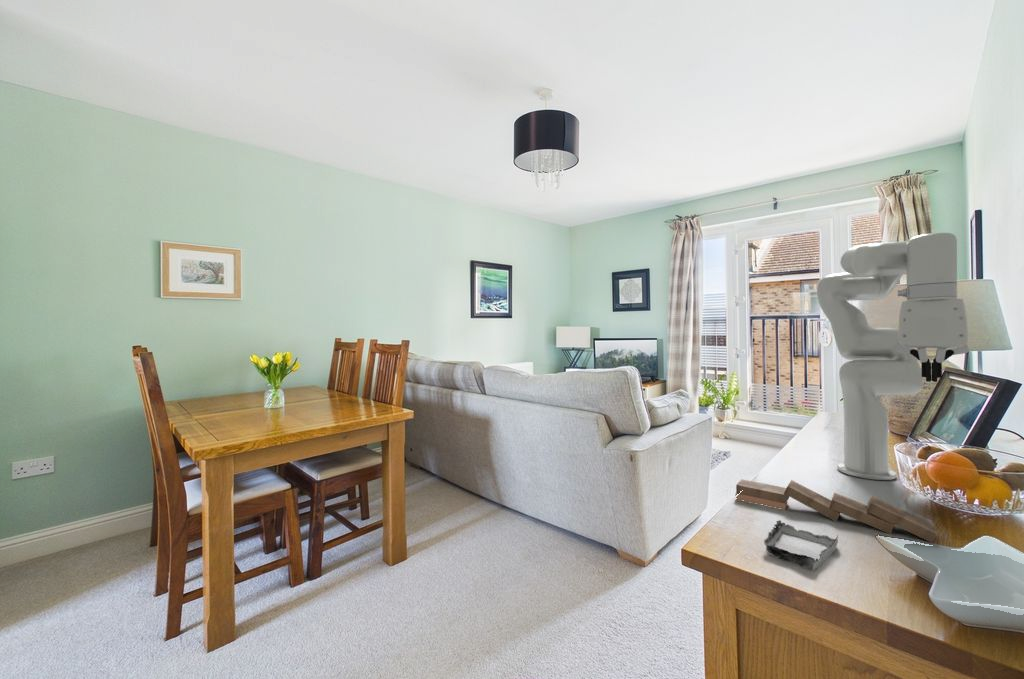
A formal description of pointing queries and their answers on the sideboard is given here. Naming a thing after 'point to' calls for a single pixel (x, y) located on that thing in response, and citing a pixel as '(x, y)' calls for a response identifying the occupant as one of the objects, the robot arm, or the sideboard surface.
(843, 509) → the domino
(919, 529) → the domino
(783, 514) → the sideboard surface
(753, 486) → the domino
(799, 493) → the domino
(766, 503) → the domino
